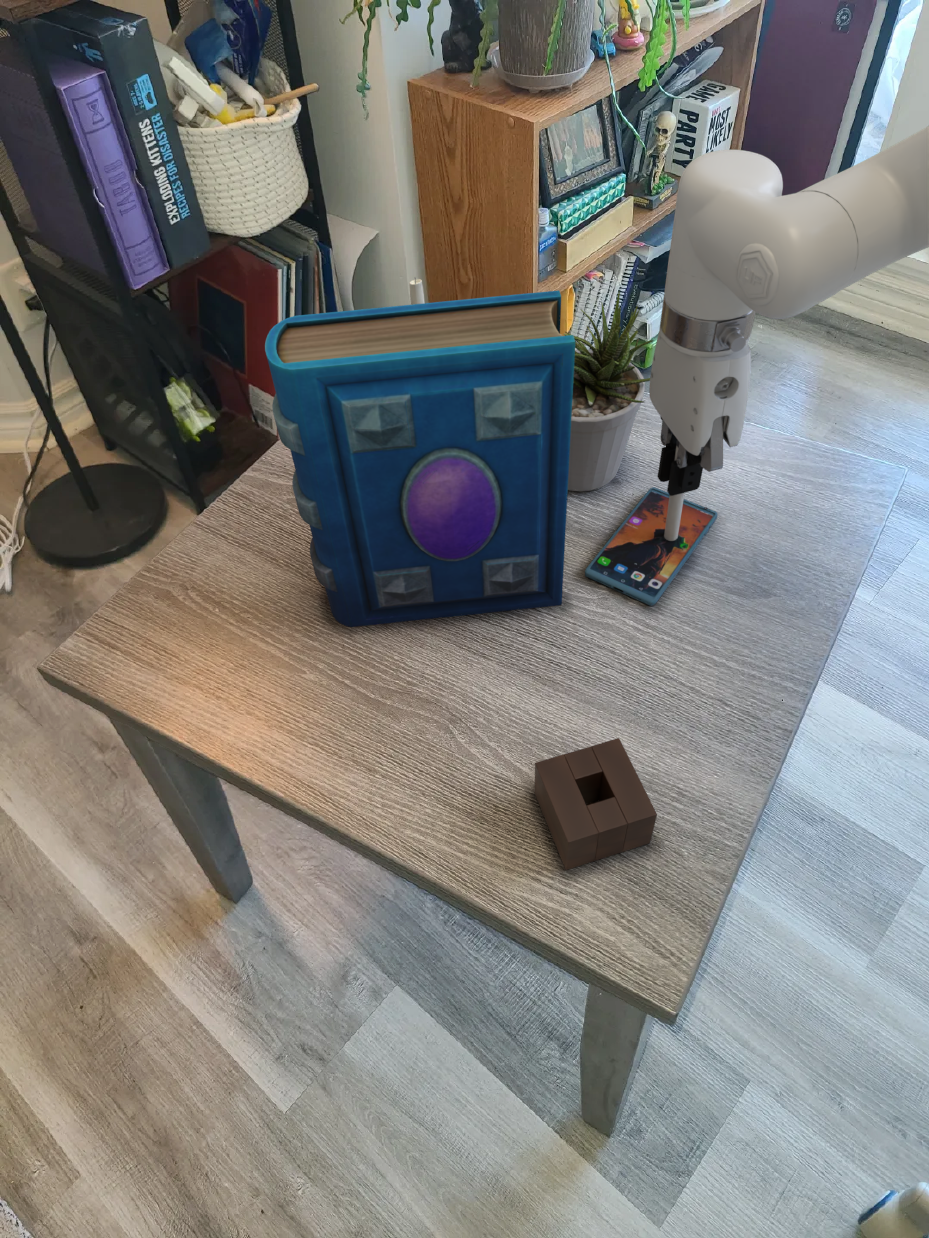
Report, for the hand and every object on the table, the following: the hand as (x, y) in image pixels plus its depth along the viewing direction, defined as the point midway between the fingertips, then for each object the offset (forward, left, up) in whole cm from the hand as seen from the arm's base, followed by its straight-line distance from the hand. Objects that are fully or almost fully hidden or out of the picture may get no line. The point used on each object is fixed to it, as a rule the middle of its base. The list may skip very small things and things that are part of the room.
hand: (678, 483), depth 88 cm
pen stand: (+20, +27, -8) cm, 34 cm away
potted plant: (+4, -14, -9) cm, 17 cm away
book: (+25, -1, -9) cm, 26 cm away
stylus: (0, 0, -8) cm, 8 cm away
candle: (+17, -35, -9) cm, 40 cm away
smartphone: (+2, 0, -9) cm, 9 cm away
